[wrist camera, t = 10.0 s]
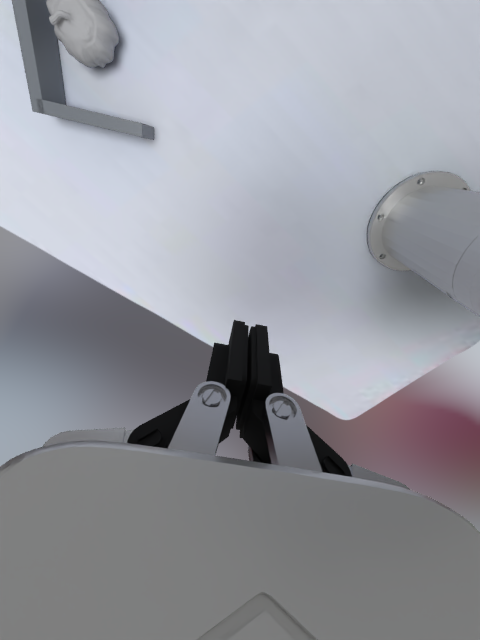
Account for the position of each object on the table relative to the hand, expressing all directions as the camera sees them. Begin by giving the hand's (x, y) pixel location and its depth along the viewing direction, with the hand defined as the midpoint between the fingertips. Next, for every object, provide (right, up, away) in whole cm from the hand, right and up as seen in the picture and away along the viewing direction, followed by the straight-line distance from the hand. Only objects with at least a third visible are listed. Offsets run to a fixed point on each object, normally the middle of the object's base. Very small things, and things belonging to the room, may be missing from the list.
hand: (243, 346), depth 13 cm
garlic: (-15, +31, +14) cm, 37 cm away
